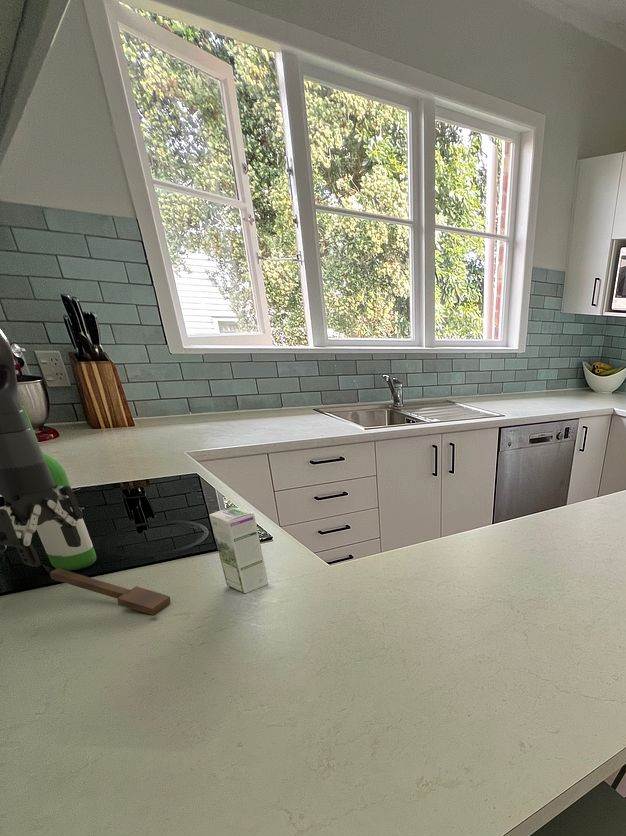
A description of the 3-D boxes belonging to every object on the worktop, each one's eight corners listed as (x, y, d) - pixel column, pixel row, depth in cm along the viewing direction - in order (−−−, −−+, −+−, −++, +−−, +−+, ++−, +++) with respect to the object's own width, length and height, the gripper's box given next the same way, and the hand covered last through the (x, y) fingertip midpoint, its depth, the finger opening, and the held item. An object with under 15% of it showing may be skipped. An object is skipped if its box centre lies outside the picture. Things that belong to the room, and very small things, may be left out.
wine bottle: (70, 556, 114) (9, 402, 98) (106, 557, 114) (51, 403, 98) (43, 571, 107) (-27, 409, 91) (82, 573, 107) (18, 411, 91)
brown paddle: (43, 582, 94) (42, 575, 93) (66, 571, 98) (64, 564, 98) (153, 615, 94) (152, 608, 93) (170, 602, 98) (170, 596, 97)
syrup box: (270, 584, 106) (256, 511, 98) (243, 594, 101) (226, 520, 94) (251, 576, 108) (236, 505, 101) (225, 586, 104) (207, 513, 96)
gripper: (32, 448, 92) (69, 539, 100) (-51, 470, 80) (-1, 570, 88) (71, 451, 91) (105, 542, 99) (-6, 473, 79) (39, 574, 87)
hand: (55, 555), depth 94 cm, fingers open, 8 cm apart
